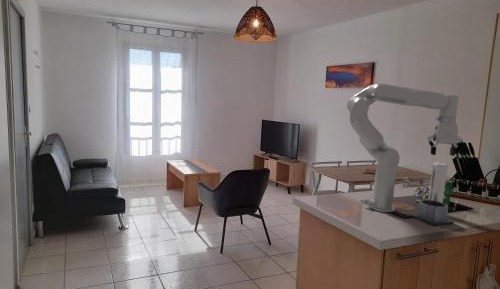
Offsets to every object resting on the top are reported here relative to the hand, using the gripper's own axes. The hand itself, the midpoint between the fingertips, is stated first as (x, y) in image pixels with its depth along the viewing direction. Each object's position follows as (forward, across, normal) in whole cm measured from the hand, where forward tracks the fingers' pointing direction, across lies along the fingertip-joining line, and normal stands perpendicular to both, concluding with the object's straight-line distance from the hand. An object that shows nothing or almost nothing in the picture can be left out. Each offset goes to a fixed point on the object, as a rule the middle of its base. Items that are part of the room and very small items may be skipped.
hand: (442, 155), depth 177 cm
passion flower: (+30, +3, +16) cm, 34 cm away
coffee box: (+30, +13, +17) cm, 37 cm away
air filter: (+30, -1, 0) cm, 30 cm away
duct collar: (+29, -9, -12) cm, 33 cm away
